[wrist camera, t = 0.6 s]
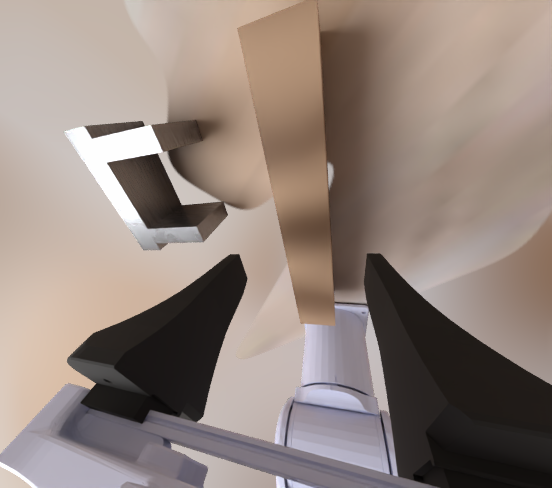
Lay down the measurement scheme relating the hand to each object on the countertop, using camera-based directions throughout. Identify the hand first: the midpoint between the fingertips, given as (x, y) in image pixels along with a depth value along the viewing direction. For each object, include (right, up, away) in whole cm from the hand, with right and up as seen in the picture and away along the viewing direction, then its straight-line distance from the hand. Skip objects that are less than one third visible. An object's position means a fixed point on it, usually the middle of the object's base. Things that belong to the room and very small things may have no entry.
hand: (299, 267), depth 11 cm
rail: (+2, +5, +7) cm, 9 cm away
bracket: (-10, +8, +7) cm, 14 cm away
